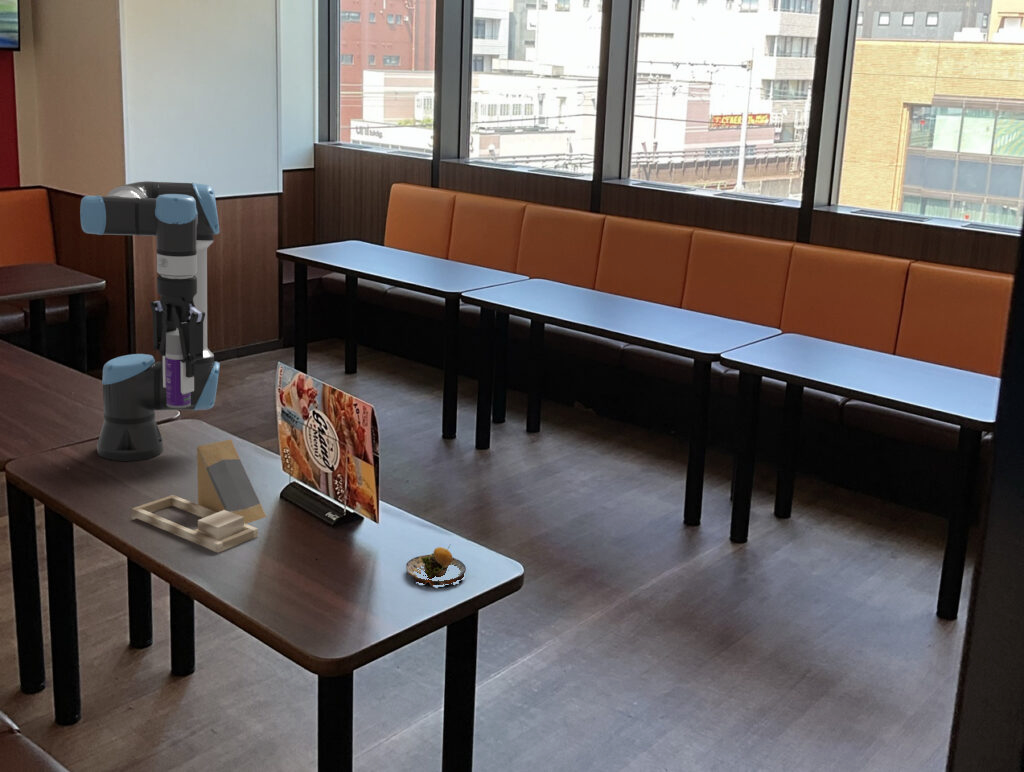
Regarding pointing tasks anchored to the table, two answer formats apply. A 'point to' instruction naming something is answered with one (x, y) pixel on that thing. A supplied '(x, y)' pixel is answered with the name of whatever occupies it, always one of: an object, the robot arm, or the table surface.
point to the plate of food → (435, 566)
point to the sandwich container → (226, 482)
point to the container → (175, 372)
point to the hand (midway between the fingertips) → (178, 388)
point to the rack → (194, 536)
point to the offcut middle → (224, 534)
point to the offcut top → (220, 523)
